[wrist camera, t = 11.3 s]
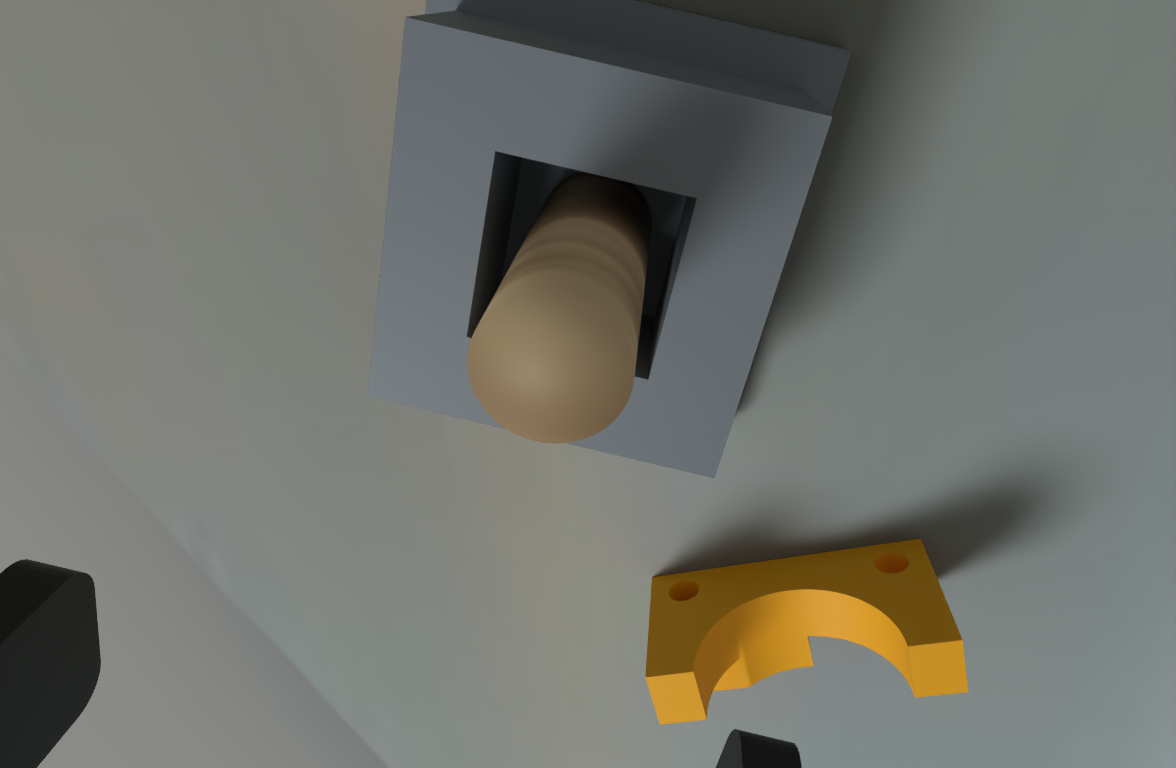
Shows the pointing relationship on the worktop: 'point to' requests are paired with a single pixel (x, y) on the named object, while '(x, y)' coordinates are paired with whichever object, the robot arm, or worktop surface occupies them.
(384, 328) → the socket block
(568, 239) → the oak peg
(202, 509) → the worktop surface
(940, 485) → the worktop surface
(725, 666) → the pipe clamp
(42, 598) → the robot arm
